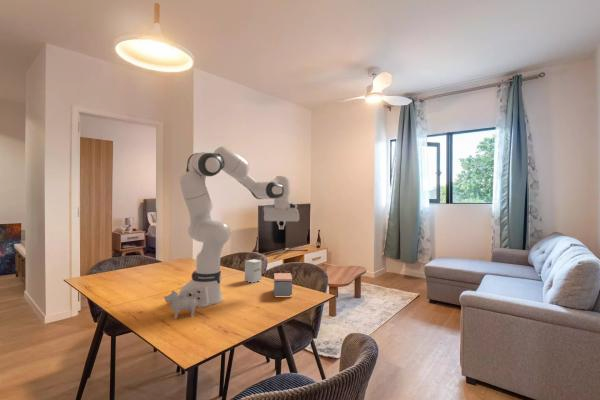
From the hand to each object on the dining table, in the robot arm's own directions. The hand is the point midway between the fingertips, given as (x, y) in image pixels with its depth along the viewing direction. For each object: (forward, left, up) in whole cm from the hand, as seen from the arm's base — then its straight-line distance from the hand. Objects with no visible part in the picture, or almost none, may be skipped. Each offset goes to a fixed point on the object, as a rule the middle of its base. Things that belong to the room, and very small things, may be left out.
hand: (281, 229), depth 172 cm
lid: (+1, -12, -25) cm, 28 cm away
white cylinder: (-16, +12, -33) cm, 39 cm away
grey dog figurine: (-43, -41, -33) cm, 68 cm away
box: (+1, -12, -33) cm, 35 cm away
